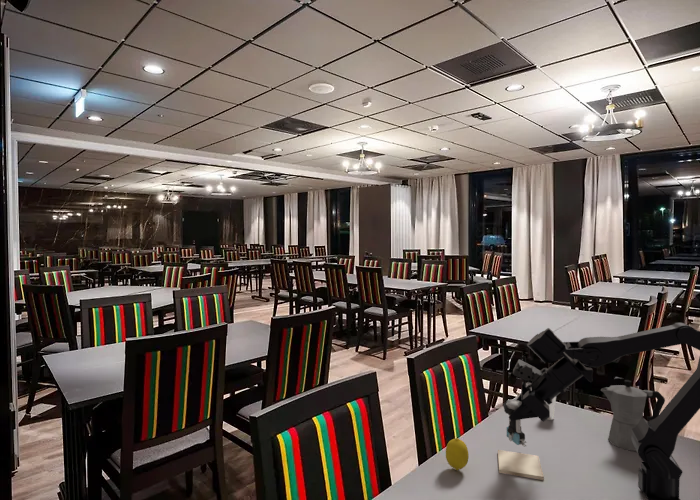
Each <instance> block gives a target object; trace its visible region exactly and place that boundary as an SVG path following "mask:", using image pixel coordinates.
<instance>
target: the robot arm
mask: <svg viewBox="0 0 700 500" xmlns="http://www.w3.org/2000/svg"><path fill="white" fill-rule="evenodd" d="M678 345H688V346H690V347H692V348H693V349H696V350H697V351H700V330H698V329H695V328H694V327H692V326H690V325H688V324H686V323H685V322H674V323H672V324H670V325H666V326H661V327H657V328H653V329H647V330H642V331H639V332H632V333H628V334H625V335H619V336H589V337H587V336H586V337H583V338H580V340H578V341H564V342H563V341H562V340H561V339H560V338H559V337H558V336H557V335H556V334H555V332H554V331H553V330H552V329H551V328H549V327H547V328H546V329H545V330H543V331H541V332H539V333H537V334H535V335H534V336H533V337H532V338H531V339H530V340H529V341H528V342H527V343H526V346H527V347H528V348H529V349H530V350H531V351H532V352H533V353H534V354H535V355H536V356H537V357H538V358H539V359H540V360H541V361H542V362H543V363H544V364H546V363H548V364H552V365H551V366H549V367H548V368H547V367H543V368H542V369H538V368H537V367H535V366H534V365H531V364H529V363H528V362H525V361H524V360H522V359H518V360H517V362H516V364H515V366H514V367H513V369H512V375H514V376H515V377H516V378H520V379H522V380H523V381H522V383H521V392H520V394H519V395H518V396H517V398H516V399H515V400H519V401H521V403H520V404H519V405H518V407H517V408H516V409H515V410H514V411H513V412H512V413H511V415H510V416H509V415H508V420H509V419H510V420H511V421H514V420H525V419H532V418H533V419H534V418H538V419H540V421H542V422H545V421H547V419H548V418H549V417H550V410H549V405H550V404H551V403H552V399H553V398H554V397H556V398H557V396H558V395H559V394H561V395H564V394H566V389H568V387H570V386H571V385H573V384H574V383H575V382H577V381H578V380H580V379H581V378H582V377H584V378H585V379H586V380H587V382H590V383H592V382H594V380H593V373H594V370H593V368H600V367H602V366H605V365H607V364H611V363H612V362H615V361H617V360H618V359H620V358H622V357H624V356H628V355H632V354H639V353H643V352H649V351H654V350H658V349H663V348H668V347H673V346H678ZM698 358H699V359H698V362H697V367H696V368H695V370H694V372H693V373H692V374H691V375H690V376H689V378H688V379H687V380H686V381H685V382H684V384H683V385H682V386H681V388H680V389H679V390H678V391H677V392H676V393H675V395H674V396H673V397H672V398H671V400H670V401H669V402H668V403H667V404H666V406H665V407H664V408H663V409H662V410H661V411H660V413H659V415H658V417H656V418H655V419H653V420H648V419H647V420H646V419H645V417H642V418H641V419H640V421H639V423H638V425H637V426H636V427H635V428H632V429H631V430H632V432H633V434H632V436H631V439H632V443H633V445H634V447H635V449H636V451H635V452H636V453H637V454H638V457H639V458H640V460H642V461H641V462H640V466H641V467H639V468H638V481H637V485H638V487H639V488H640V489H639V490H641V492H642V493H643V494H644V496H645V498H646V499H647V500H681V499H680V479H681V476H682V474H683V470H682V468H681V467H680V465H679V464H678V462H677V460H676V459H675V458H674V456H673V453H674V451H675V448H676V445H677V441H678V436H679V433H681V432H682V430H683V429H684V428H685V427H686V426H687V425H688V424H689V422H690V421H691V420H692V419H693V417H694V416H695V415H696V414H697V413H698V412H699V410H700V356H699V357H698ZM553 363H554V364H553ZM585 365H586V366H585Z"/></svg>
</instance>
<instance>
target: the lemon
mask: <svg viewBox="0 0 700 500" xmlns="http://www.w3.org/2000/svg"><path fill="white" fill-rule="evenodd" d="M445 458H446V459H445V460H446V462H447V464H448V465H449V466H450V467H451V468H453V469H454V470H456V471H458V470H462V469H464V468H465V467H466V466H467V465H468V462H469V449H468V447H467V444H466V442H464V441H463V440H462V439H460V438H458V437H456V438H453V439H451V440H449V441H448V443H447V444H446V447H445Z"/></svg>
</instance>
